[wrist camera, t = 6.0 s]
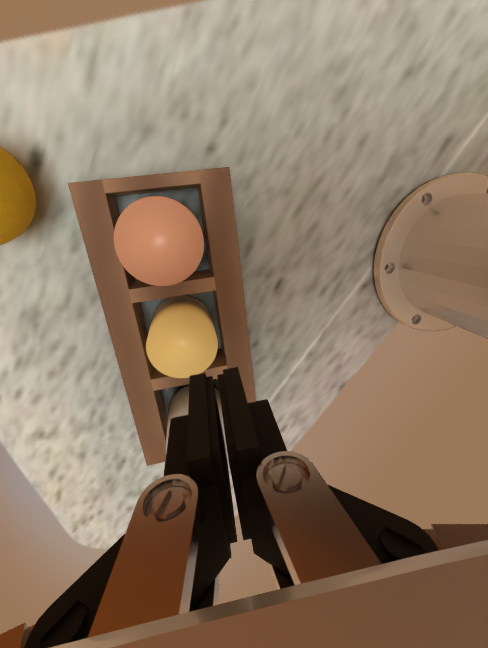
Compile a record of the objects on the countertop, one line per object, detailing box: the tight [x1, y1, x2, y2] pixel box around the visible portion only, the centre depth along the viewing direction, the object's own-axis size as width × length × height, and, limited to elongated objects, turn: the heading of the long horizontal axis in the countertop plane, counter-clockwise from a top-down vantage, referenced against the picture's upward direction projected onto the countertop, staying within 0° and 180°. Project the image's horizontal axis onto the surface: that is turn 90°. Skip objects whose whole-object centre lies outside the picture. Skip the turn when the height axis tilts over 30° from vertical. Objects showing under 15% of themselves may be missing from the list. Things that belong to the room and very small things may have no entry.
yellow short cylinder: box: [146, 296, 218, 378], centre depth 22 cm, size 4×4×4 cm
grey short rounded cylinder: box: [166, 386, 229, 461], centre depth 22 cm, size 4×4×4 cm
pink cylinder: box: [114, 196, 204, 286], centre depth 18 cm, size 4×4×4 cm
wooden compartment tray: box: [68, 167, 256, 466], centre depth 23 cm, size 9×20×3 cm, turn 6°
